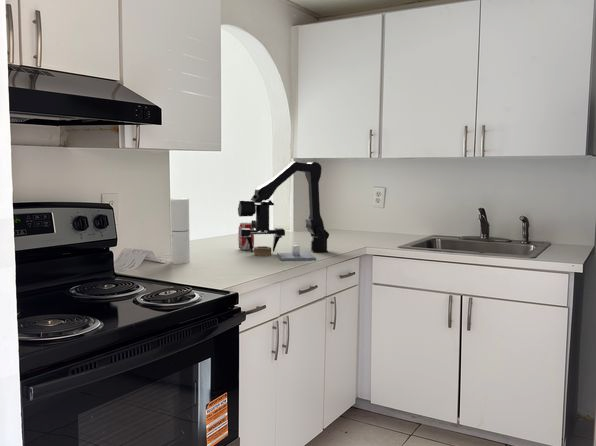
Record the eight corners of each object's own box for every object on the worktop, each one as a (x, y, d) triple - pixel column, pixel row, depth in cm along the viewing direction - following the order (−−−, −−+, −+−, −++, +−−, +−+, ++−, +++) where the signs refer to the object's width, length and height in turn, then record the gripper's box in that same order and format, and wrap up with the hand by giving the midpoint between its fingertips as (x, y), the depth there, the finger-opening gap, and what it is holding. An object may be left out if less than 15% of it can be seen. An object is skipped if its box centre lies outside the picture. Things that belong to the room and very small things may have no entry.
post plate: (309, 254, 239) (309, 243, 239) (315, 260, 225) (315, 247, 225) (277, 255, 237) (277, 243, 236) (281, 260, 223) (281, 248, 223)
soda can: (251, 250, 248) (251, 224, 247) (236, 250, 250) (236, 223, 249) (255, 248, 255) (255, 222, 254) (241, 248, 257) (241, 222, 255)
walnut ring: (270, 252, 243) (270, 246, 243) (271, 255, 236) (271, 248, 236) (253, 253, 242) (253, 246, 241) (255, 255, 235) (255, 248, 234)
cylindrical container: (180, 264, 214) (179, 199, 211) (167, 262, 217) (166, 198, 215) (193, 261, 220) (192, 198, 217) (180, 259, 223) (179, 198, 221)
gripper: (281, 214, 247) (281, 248, 248) (239, 214, 243) (239, 249, 245) (285, 216, 236) (285, 252, 237) (241, 216, 233) (241, 253, 234)
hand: (262, 252), depth 239 cm, fingers open, 9 cm apart
